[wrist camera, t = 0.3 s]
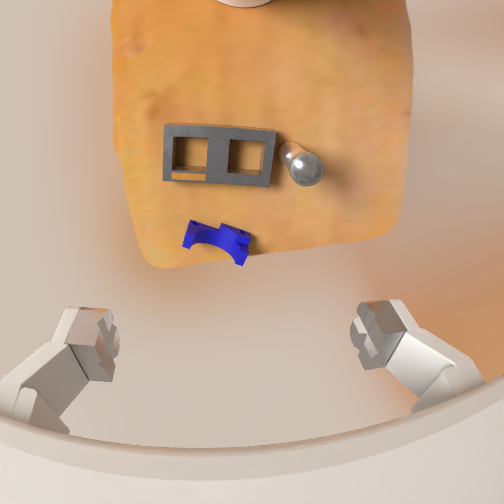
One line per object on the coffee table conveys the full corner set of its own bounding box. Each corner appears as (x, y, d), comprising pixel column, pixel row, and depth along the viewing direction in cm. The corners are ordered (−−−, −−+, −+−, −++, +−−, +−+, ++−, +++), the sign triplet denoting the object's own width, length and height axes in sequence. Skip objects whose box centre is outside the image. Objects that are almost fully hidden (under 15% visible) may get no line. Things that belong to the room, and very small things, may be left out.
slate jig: (168, 123, 48) (164, 125, 45) (273, 129, 51) (276, 132, 48) (166, 175, 53) (162, 181, 50) (266, 181, 56) (269, 187, 52)
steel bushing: (278, 138, 52) (293, 151, 40) (304, 141, 52) (326, 155, 41) (274, 164, 54) (288, 184, 43) (300, 167, 55) (320, 188, 43)
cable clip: (249, 232, 61) (251, 246, 56) (240, 250, 63) (242, 266, 58) (192, 212, 58) (189, 225, 53) (185, 232, 60) (182, 246, 54)
